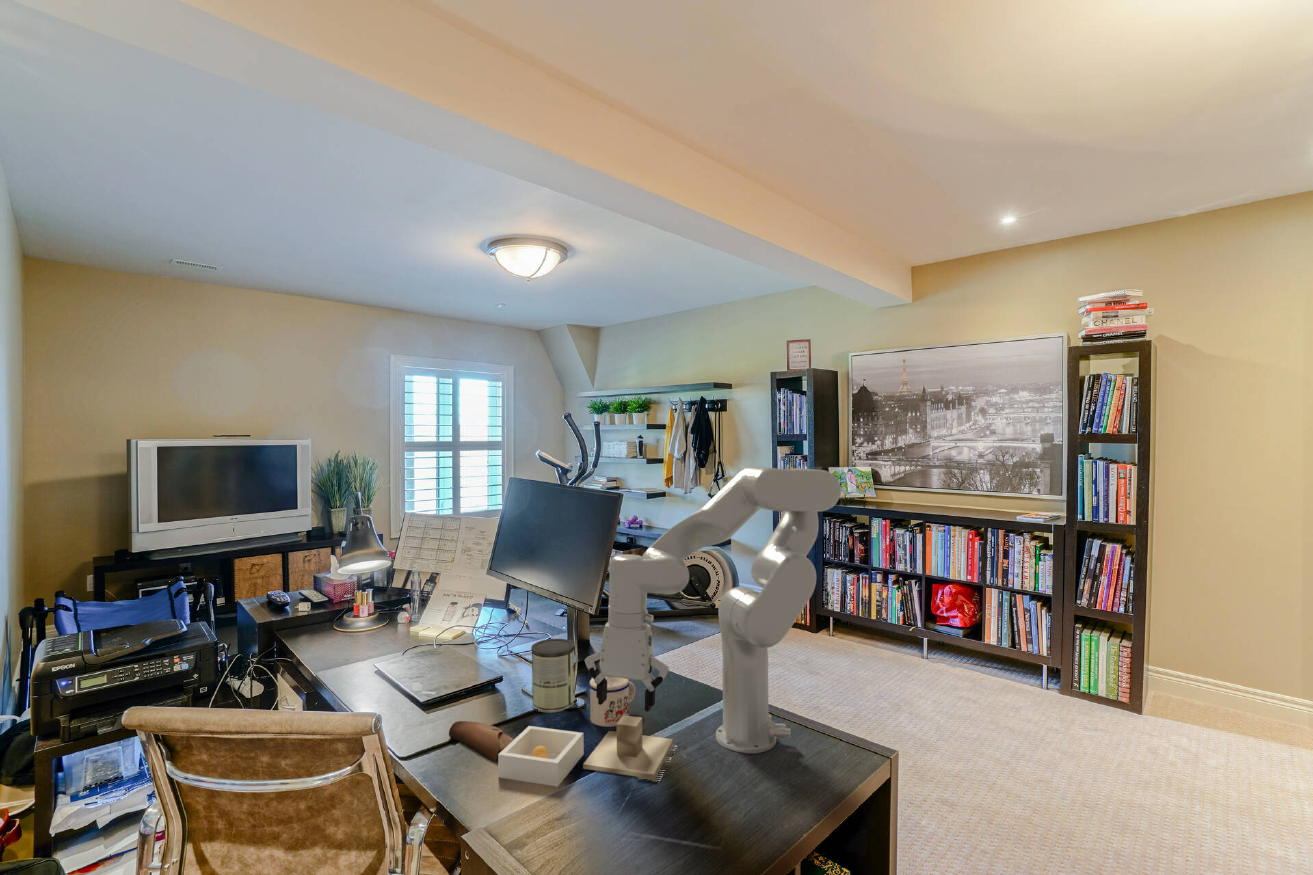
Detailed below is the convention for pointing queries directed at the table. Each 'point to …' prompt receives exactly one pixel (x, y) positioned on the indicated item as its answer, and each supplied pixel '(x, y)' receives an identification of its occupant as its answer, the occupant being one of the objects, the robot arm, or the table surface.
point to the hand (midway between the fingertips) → (625, 705)
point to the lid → (629, 751)
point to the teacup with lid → (611, 701)
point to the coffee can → (553, 675)
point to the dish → (546, 771)
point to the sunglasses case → (480, 738)
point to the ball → (540, 752)
